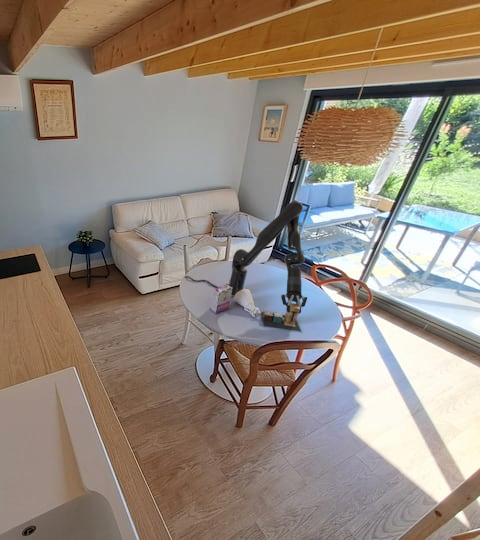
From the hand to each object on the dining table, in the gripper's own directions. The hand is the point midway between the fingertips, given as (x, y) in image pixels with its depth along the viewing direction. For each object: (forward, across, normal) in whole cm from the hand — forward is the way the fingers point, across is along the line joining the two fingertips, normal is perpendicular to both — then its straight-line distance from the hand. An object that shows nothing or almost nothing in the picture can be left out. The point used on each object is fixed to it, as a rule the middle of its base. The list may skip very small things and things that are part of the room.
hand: (293, 312), depth 167 cm
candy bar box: (+2, +40, -10) cm, 42 cm away
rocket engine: (-1, +24, -13) cm, 27 cm away
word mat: (+5, +5, -7) cm, 10 cm away
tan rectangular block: (+4, 0, -7) cm, 8 cm away
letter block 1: (+5, +13, -7) cm, 15 cm away
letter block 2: (+5, +7, -7) cm, 11 cm away
